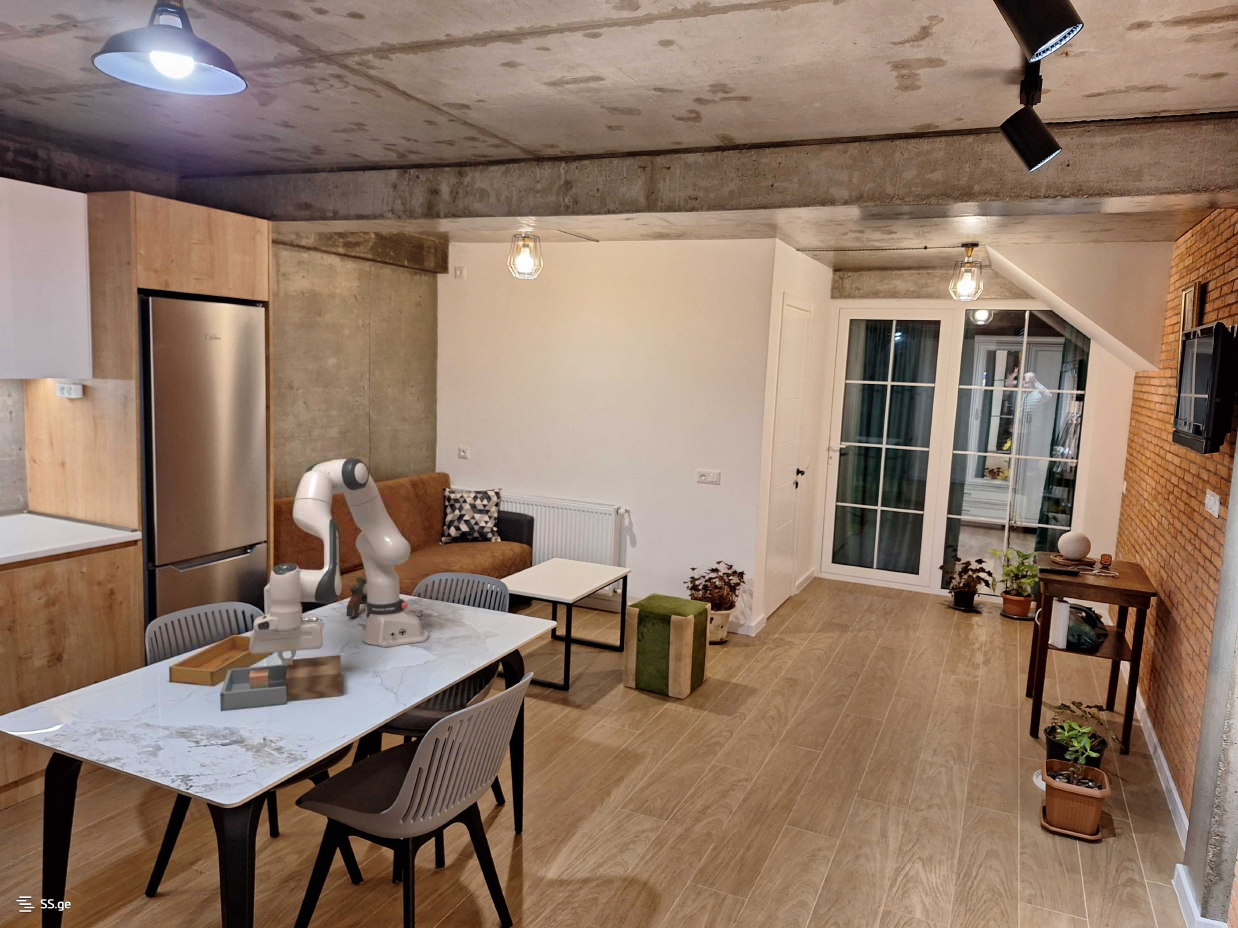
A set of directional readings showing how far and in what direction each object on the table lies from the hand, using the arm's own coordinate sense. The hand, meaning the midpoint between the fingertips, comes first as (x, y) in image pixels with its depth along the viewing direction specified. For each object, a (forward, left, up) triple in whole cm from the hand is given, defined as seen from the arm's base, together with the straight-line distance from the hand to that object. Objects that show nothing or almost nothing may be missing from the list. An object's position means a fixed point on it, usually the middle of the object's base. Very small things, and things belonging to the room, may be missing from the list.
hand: (287, 664), depth 246 cm
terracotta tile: (+8, 0, -5) cm, 9 cm away
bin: (+9, 0, -8) cm, 12 cm away
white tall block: (+5, -64, -8) cm, 65 cm away
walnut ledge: (-7, 0, -8) cm, 11 cm away
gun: (-25, -82, -8) cm, 86 cm away
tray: (+20, -27, -9) cm, 35 cm away
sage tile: (+8, 0, -5) cm, 9 cm away
